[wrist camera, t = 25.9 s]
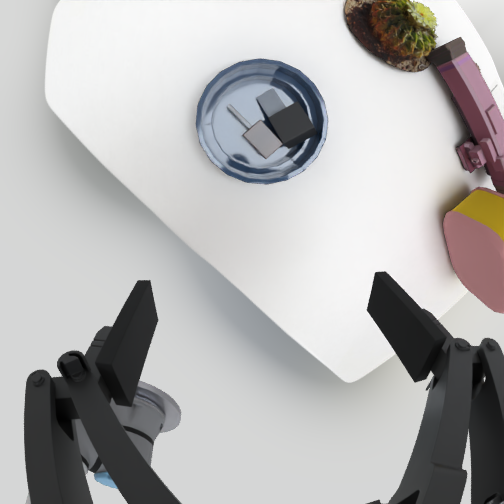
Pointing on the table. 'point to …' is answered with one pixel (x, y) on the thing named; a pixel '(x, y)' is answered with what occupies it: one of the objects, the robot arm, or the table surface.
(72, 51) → the table surface
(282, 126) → the cube with grey tab
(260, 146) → the blade walnut
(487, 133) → the electronic device
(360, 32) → the cactus
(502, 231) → the alarm clock
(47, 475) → the robot arm
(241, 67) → the bowl
